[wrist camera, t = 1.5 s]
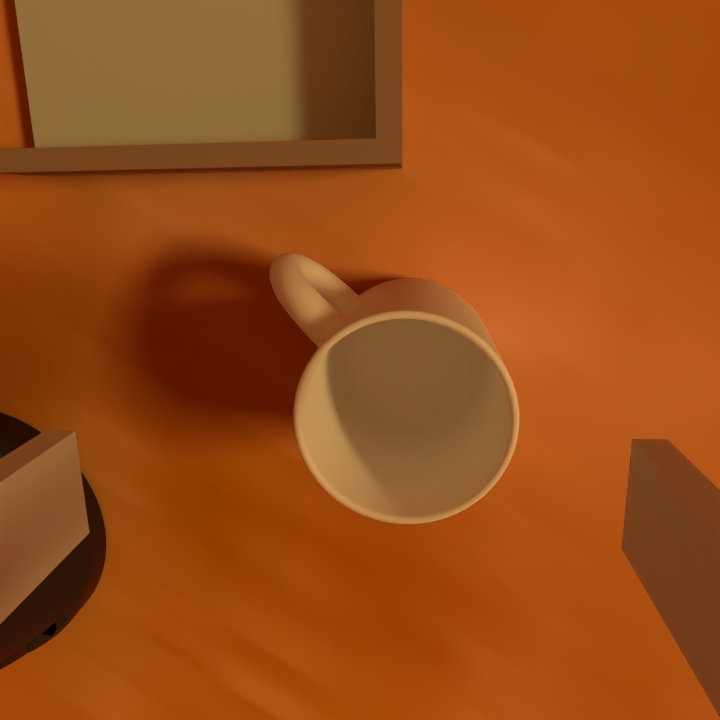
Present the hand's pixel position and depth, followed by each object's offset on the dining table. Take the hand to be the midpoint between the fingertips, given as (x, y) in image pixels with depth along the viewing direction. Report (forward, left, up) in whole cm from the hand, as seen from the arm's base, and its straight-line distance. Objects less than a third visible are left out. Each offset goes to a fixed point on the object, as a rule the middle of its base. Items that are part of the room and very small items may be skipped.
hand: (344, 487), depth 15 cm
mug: (0, 0, -19) cm, 19 cm away
